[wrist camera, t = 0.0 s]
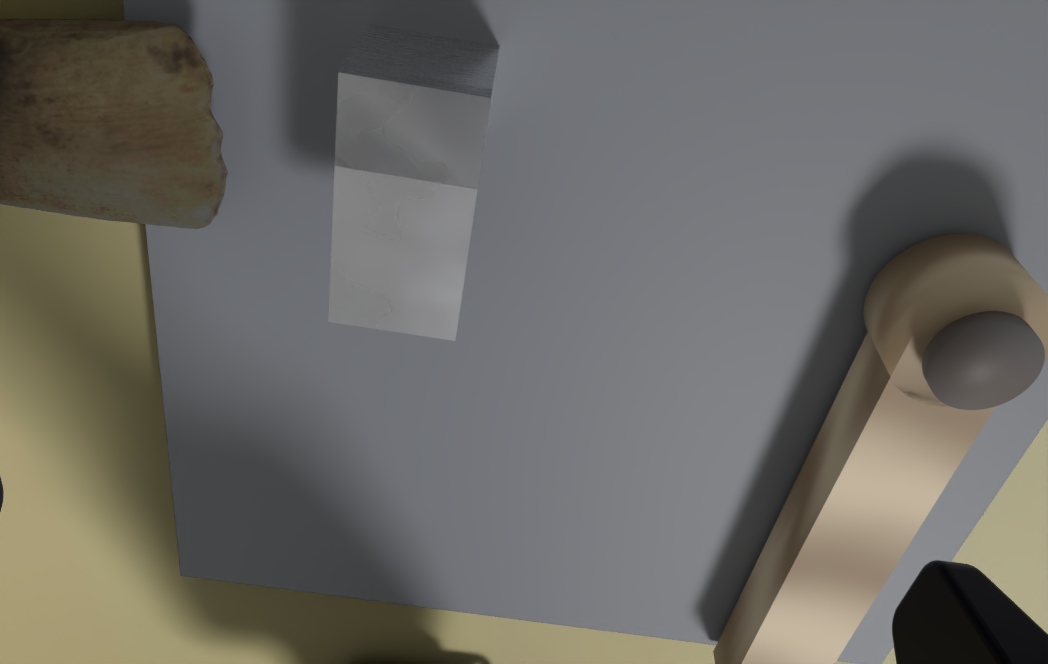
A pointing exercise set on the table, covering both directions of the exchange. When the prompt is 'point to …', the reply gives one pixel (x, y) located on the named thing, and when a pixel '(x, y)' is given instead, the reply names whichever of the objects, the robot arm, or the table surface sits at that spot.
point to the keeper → (407, 178)
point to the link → (890, 442)
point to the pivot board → (586, 298)
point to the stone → (108, 122)
